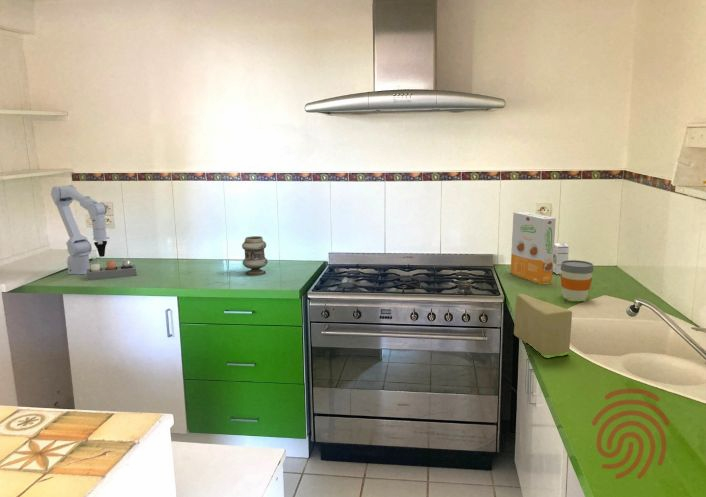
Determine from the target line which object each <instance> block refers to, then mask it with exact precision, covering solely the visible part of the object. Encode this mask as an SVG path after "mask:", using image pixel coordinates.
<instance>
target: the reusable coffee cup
mask: <svg viewBox="0 0 706 497" xmlns="http://www.w3.org/2000/svg"><path fill="white" fill-rule="evenodd" d="M561 272H562V275H560V284H561V287H562V298H563V297H564V298H567V299H574V300H583V299H586V298H588V293H589V290H590V289H591V285H592V280H593V277H592V276H593V273H594V264H593V263H592V262H589V261H585V260H576V259H575V260H573V259H572V260H571V259H568V260H567V261H563V262H562V264H561ZM586 300H587V299H586Z"/></svg>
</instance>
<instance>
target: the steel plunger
mask: <svg viewBox="0 0 706 497" xmlns="http://www.w3.org/2000/svg"><path fill="white" fill-rule="evenodd" d="M131 261H132V260H131V259H123V260H121V266H122V268H123V269H127V268H131V265H132V262H131Z"/></svg>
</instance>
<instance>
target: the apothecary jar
mask: <svg viewBox="0 0 706 497" xmlns="http://www.w3.org/2000/svg"><path fill="white" fill-rule="evenodd" d="M266 248H267V242H266V241H264V238H263V236H260V235H259V236H258V235H257V236H254V235H253V236H251V235H250V236H246V237H245V238H244V242H242V244H241V249H243V250H244V259H243V260H242V265H243V266H244V267H245V268H247V269H249V270H247V271H246V272H245V274H246V276H252V277H256V276H257V277H258V276H262V275H265V274H266V270H264V269H262V268H264V267H265V266H267V264H268V258H266V256H265V255H266V254H265V249H266Z"/></svg>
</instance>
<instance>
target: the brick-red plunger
mask: <svg viewBox="0 0 706 497" xmlns="http://www.w3.org/2000/svg"><path fill="white" fill-rule="evenodd" d="M105 263H106V267H107V270H116V260H108V261H106V262H105Z"/></svg>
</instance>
